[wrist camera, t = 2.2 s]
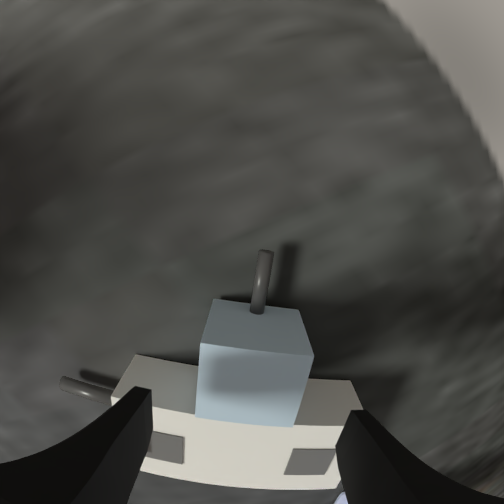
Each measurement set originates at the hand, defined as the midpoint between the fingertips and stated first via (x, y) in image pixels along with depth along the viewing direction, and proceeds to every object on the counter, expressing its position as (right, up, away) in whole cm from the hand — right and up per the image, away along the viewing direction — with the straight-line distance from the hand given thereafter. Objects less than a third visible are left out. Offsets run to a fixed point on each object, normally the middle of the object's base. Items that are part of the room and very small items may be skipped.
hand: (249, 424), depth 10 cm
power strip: (-3, -3, +8) cm, 9 cm away
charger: (0, +2, +7) cm, 7 cm away
